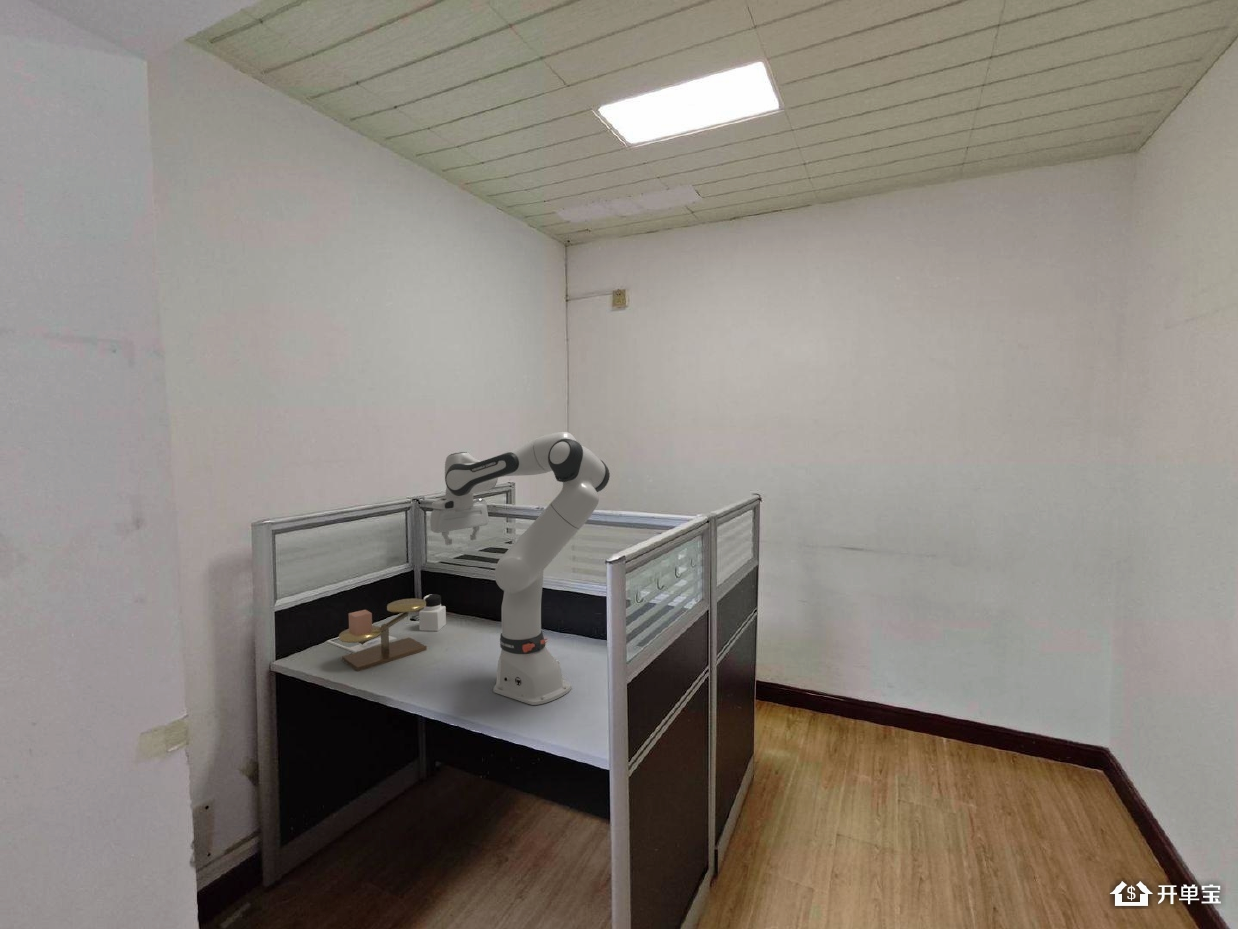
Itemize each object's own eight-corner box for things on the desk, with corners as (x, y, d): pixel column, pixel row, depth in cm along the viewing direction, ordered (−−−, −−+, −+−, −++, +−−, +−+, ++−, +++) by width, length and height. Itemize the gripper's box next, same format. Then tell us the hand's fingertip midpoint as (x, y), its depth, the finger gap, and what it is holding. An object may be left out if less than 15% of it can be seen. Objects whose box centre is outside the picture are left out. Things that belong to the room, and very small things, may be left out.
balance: (433, 647, 181) (432, 603, 180) (349, 674, 161) (347, 624, 160) (416, 638, 189) (415, 596, 188) (333, 662, 169) (332, 615, 169)
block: (372, 632, 169) (371, 613, 169) (355, 636, 166) (355, 617, 165) (365, 628, 173) (365, 609, 172) (349, 632, 169) (348, 613, 169)
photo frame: (356, 651, 176) (326, 640, 186) (356, 654, 176) (326, 643, 186) (396, 637, 188) (366, 627, 198) (396, 640, 189) (366, 630, 199)
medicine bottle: (446, 624, 203) (445, 593, 203) (438, 631, 196) (437, 598, 196) (427, 624, 204) (427, 592, 203) (419, 630, 197) (418, 598, 196)
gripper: (480, 497, 191) (482, 536, 192) (426, 503, 176) (428, 546, 176) (491, 498, 187) (493, 538, 187) (437, 505, 171) (439, 548, 172)
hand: (461, 542), depth 182 cm, fingers open, 8 cm apart
